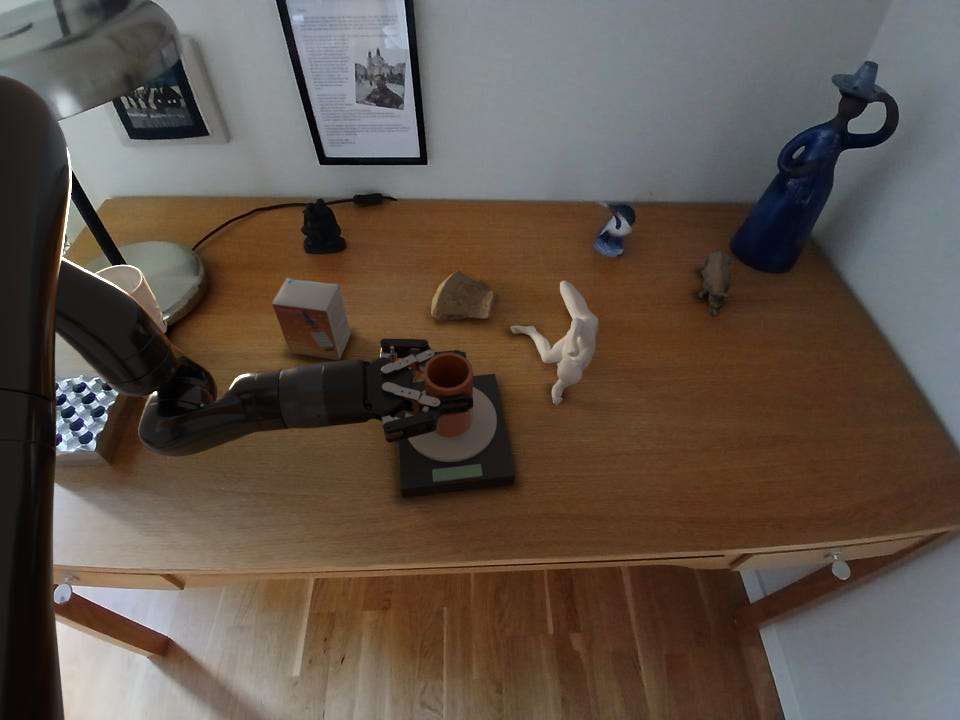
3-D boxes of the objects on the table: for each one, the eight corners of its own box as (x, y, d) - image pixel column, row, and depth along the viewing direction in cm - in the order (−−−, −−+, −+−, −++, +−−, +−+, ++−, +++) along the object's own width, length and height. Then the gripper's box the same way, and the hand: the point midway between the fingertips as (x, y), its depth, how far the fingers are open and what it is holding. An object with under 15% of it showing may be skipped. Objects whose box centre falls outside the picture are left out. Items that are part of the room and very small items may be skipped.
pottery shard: (430, 326, 89) (488, 329, 85) (422, 305, 86) (483, 306, 82) (452, 285, 96) (507, 286, 92) (445, 264, 93) (502, 264, 90)
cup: (475, 434, 71) (475, 388, 63) (430, 439, 70) (425, 393, 63) (469, 398, 75) (469, 350, 67) (427, 403, 74) (421, 354, 66)
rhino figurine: (695, 325, 88) (708, 297, 83) (697, 269, 96) (708, 241, 92) (722, 330, 87) (736, 303, 83) (721, 273, 96) (734, 246, 91)
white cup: (109, 329, 86) (74, 280, 78) (160, 306, 89) (131, 257, 82) (127, 359, 82) (91, 311, 74) (179, 334, 85) (151, 286, 78)
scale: (514, 484, 70) (515, 473, 68) (402, 498, 69) (400, 486, 66) (494, 384, 80) (495, 370, 78) (396, 394, 79) (394, 381, 76)
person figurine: (518, 267, 80) (576, 339, 67) (594, 265, 85) (661, 332, 72) (501, 340, 88) (551, 418, 75) (571, 335, 92) (629, 407, 79)
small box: (289, 354, 83) (269, 303, 75) (302, 327, 87) (285, 276, 79) (340, 361, 82) (326, 311, 74) (352, 333, 86) (339, 283, 78)
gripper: (316, 428, 58) (478, 410, 59) (322, 327, 67) (461, 314, 68) (331, 464, 63) (477, 447, 65) (334, 366, 72) (462, 353, 74)
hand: (468, 379), depth 67 cm, fingers closed on cup, 5 cm apart
